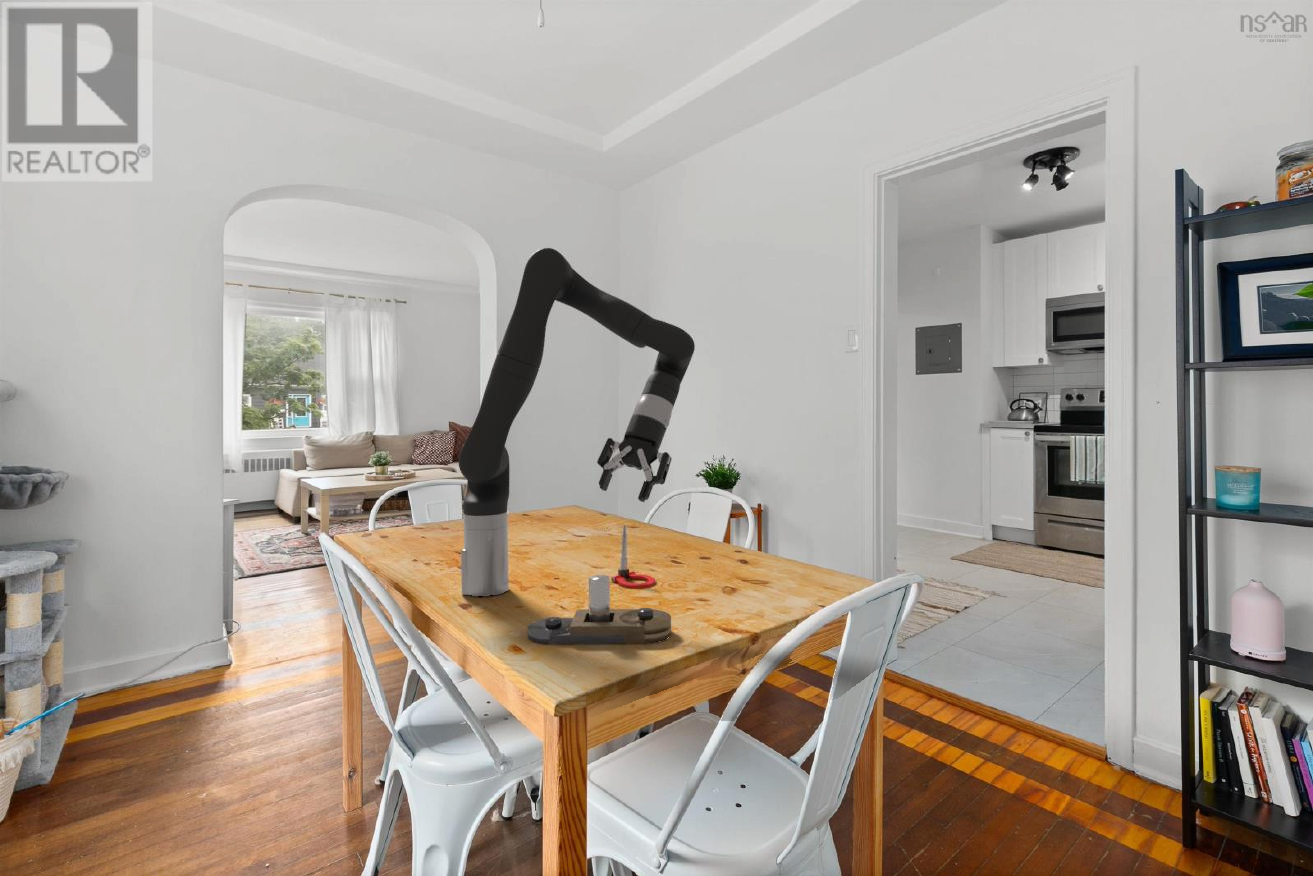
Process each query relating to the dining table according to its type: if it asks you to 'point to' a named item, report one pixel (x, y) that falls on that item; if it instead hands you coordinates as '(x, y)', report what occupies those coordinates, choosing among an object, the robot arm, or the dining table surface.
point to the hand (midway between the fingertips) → (621, 495)
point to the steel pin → (599, 598)
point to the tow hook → (624, 572)
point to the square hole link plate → (603, 628)
